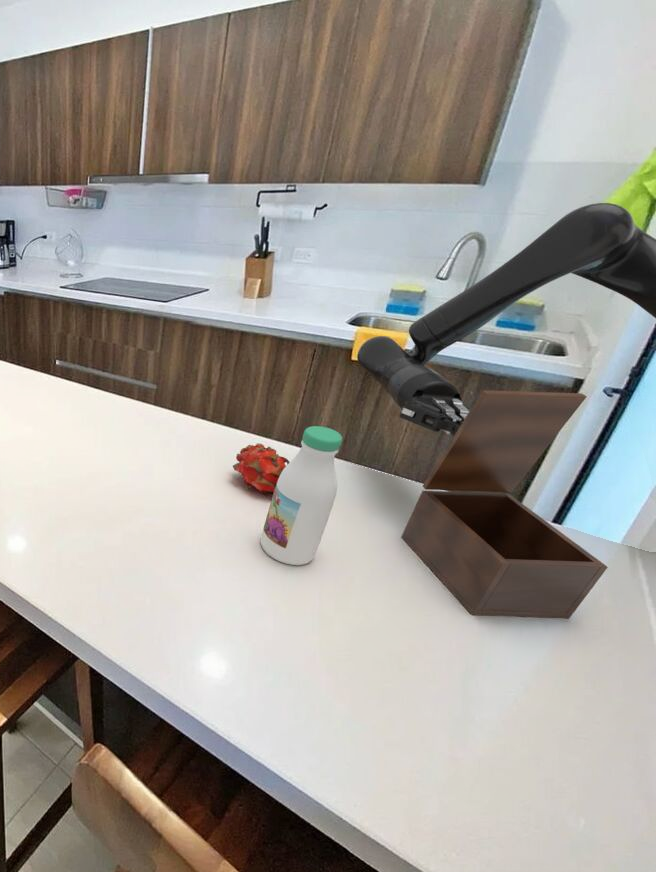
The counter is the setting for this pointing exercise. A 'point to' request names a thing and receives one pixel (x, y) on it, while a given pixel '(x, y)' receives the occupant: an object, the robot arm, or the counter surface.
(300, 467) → the milk bottle
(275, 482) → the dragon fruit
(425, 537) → the tea box
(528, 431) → the tea lid
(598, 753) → the counter surface
